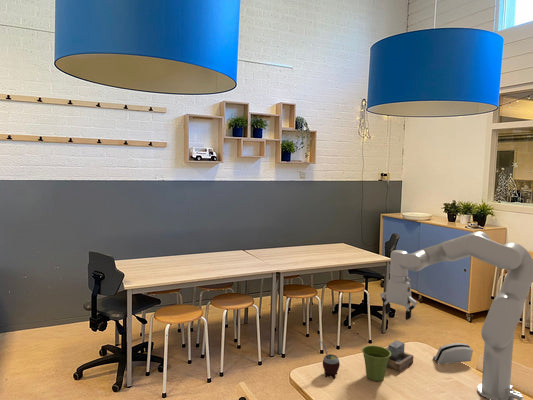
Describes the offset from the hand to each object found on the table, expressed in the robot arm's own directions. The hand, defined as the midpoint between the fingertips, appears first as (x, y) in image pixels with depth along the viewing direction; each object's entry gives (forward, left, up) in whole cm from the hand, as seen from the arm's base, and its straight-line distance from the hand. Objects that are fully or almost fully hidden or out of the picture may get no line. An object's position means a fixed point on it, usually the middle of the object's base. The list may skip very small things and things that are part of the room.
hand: (397, 316), depth 179 cm
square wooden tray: (+1, 0, -22) cm, 22 cm away
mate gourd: (+14, +30, -22) cm, 40 cm away
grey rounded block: (-17, -21, -22) cm, 35 cm away
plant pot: (0, +17, -22) cm, 28 cm away
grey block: (0, 0, -21) cm, 21 cm away
